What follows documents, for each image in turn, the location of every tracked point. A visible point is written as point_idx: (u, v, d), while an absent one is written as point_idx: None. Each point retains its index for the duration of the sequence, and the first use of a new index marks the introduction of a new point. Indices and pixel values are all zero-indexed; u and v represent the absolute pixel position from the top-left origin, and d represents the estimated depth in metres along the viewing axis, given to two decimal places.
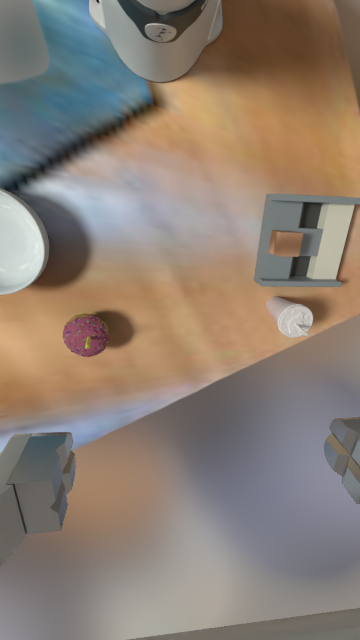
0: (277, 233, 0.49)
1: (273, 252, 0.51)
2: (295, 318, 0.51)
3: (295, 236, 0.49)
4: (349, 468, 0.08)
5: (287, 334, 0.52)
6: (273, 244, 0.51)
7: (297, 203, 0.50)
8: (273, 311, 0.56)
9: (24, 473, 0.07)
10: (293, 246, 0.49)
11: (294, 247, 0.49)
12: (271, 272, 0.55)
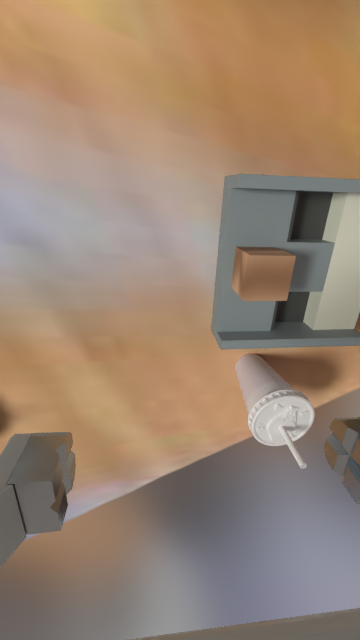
0: (244, 256, 0.24)
1: (238, 291, 0.26)
2: (280, 417, 0.27)
3: (279, 262, 0.24)
4: (349, 468, 0.08)
5: (266, 442, 0.28)
6: (238, 275, 0.26)
7: (284, 194, 0.25)
8: (243, 389, 0.31)
9: (23, 473, 0.07)
10: (276, 282, 0.25)
11: (278, 284, 0.25)
12: (238, 322, 0.30)
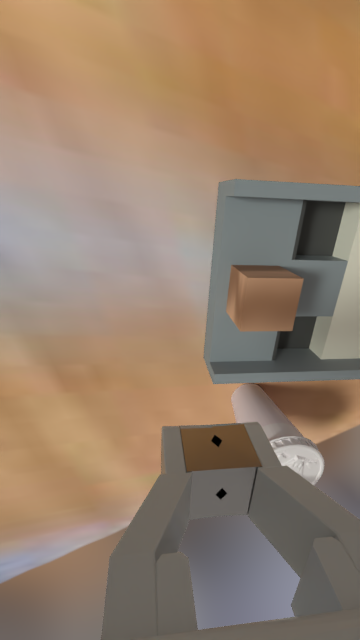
0: (241, 278, 0.20)
1: (234, 317, 0.22)
2: None
3: (283, 286, 0.20)
4: None
5: None
6: (234, 299, 0.22)
7: (289, 203, 0.21)
8: None
9: (196, 462, 0.07)
10: (279, 309, 0.20)
11: (282, 311, 0.20)
12: (234, 351, 0.26)
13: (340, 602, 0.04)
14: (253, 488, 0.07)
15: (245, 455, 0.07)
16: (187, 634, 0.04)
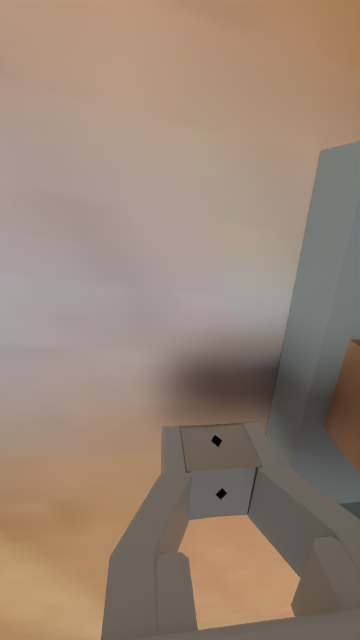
0: None
1: None
2: None
3: None
4: None
5: None
6: None
7: None
8: None
9: (195, 462, 0.07)
10: None
11: None
12: (329, 489, 0.13)
13: (340, 602, 0.04)
14: (253, 488, 0.07)
15: (245, 455, 0.07)
16: (187, 634, 0.04)
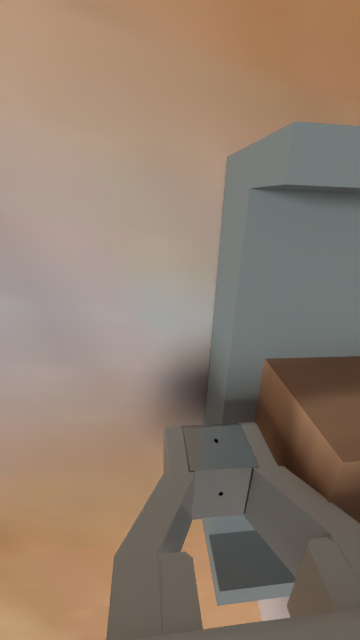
0: (308, 431, 0.07)
1: None
2: None
3: None
4: None
5: None
6: (275, 454, 0.09)
7: None
8: None
9: (199, 461, 0.07)
10: None
11: None
12: None
13: (334, 602, 0.04)
14: (249, 488, 0.07)
15: (241, 455, 0.07)
16: (187, 634, 0.04)
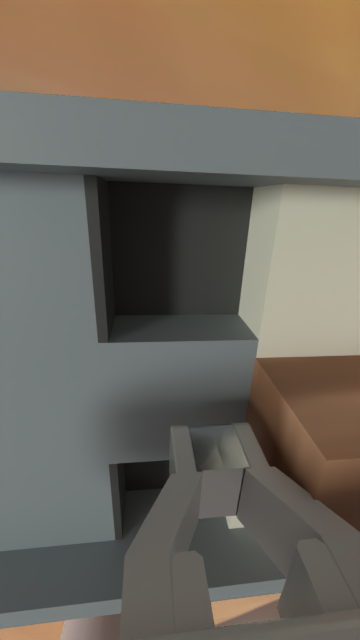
0: (294, 429, 0.07)
1: None
2: None
3: None
4: None
5: None
6: (265, 452, 0.09)
7: (40, 187, 0.07)
8: None
9: (206, 461, 0.07)
10: None
11: None
12: (18, 532, 0.11)
13: (322, 605, 0.04)
14: (241, 489, 0.07)
15: (233, 456, 0.07)
16: (187, 634, 0.04)
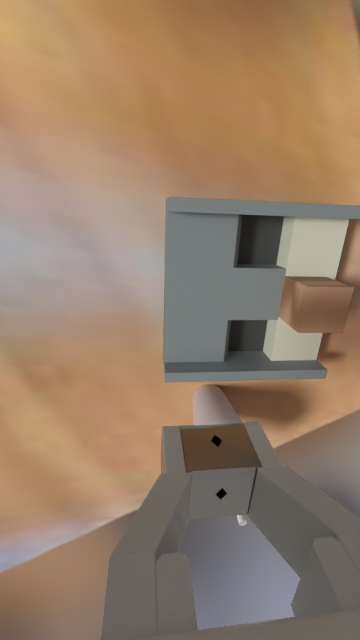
0: (299, 287, 0.24)
1: (289, 321, 0.25)
2: None
3: (336, 294, 0.23)
4: None
5: None
6: (289, 305, 0.25)
7: (226, 217, 0.24)
8: None
9: (195, 462, 0.07)
10: (332, 313, 0.24)
11: (334, 316, 0.24)
12: (187, 352, 0.28)
13: (340, 602, 0.04)
14: (253, 488, 0.07)
15: (245, 455, 0.07)
16: (187, 634, 0.04)
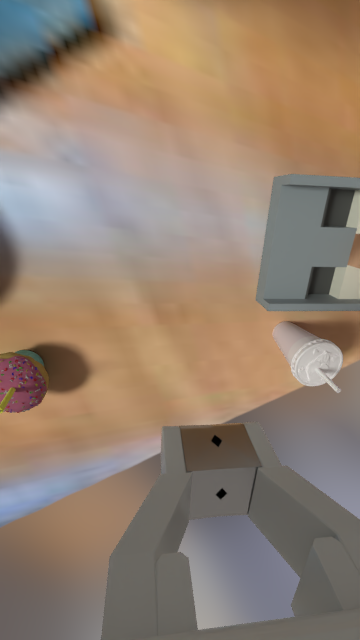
0: None
1: (359, 265, 0.36)
2: (317, 360, 0.35)
3: None
4: None
5: (305, 382, 0.36)
6: (359, 254, 0.36)
7: (320, 190, 0.34)
8: (283, 345, 0.39)
9: (195, 462, 0.07)
10: None
11: None
12: (280, 291, 0.38)
13: (340, 602, 0.04)
14: (253, 488, 0.07)
15: (245, 455, 0.07)
16: (187, 634, 0.04)
